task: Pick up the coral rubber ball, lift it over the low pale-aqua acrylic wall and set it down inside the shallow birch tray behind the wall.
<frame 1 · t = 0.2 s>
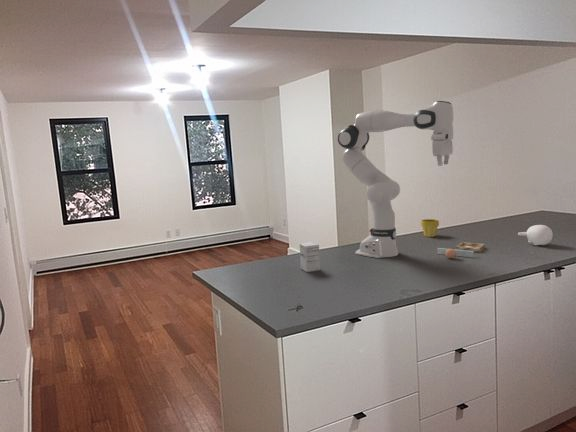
hand: (443, 164, 229), 47 cm above the worktop, fingers open, 8 cm apart
plant pot: (429, 236, 295), on the worktop
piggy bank: (536, 244, 261), on the worktop
aqua wall: (455, 255, 245), on the worktop
supplement box: (310, 269, 231), on the worktop
coral ball: (450, 253, 239), point 2 cm above the worktop
birch tray: (470, 249, 257), on the worktop
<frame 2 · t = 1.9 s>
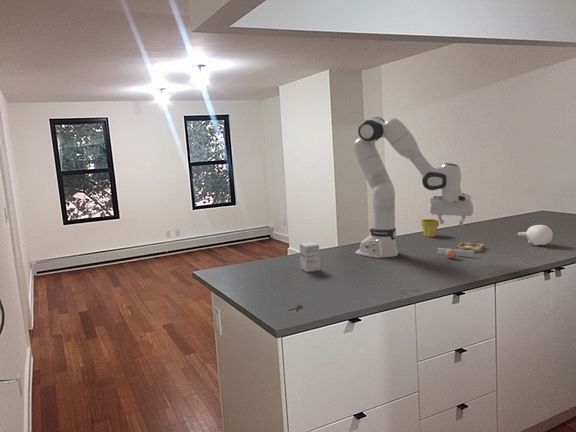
hand: (451, 224, 237), 18 cm above the worktop, fingers open, 8 cm apart
nothing on the worktop moved.
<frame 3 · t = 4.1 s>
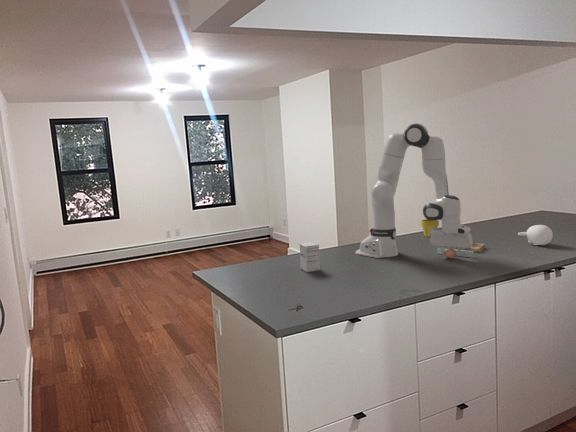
hand: (450, 255, 239), 2 cm above the worktop, fingers closed on coral ball, 5 cm apart
coral ball: (450, 253, 239), point 2 cm above the worktop, touching gripper
everything else where it was.
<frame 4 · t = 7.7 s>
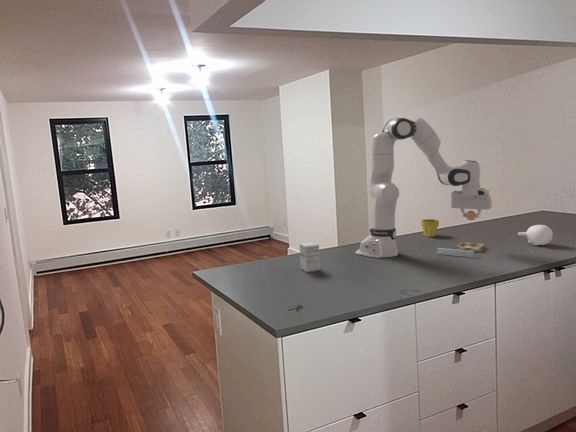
hand: (470, 217, 253), 18 cm above the worktop, fingers closed on coral ball, 5 cm apart
coral ball: (470, 215, 253), point 18 cm above the worktop, touching gripper
everything else where it was.
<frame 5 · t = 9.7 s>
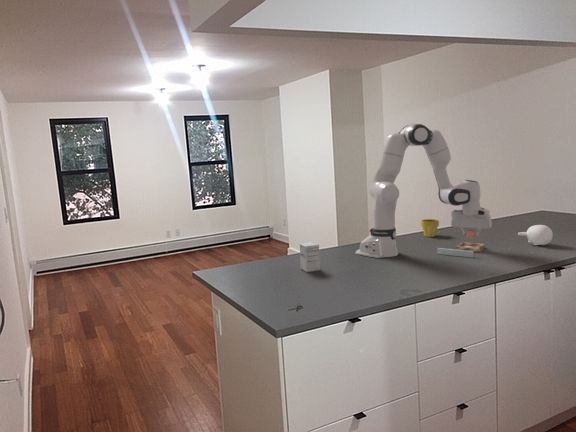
hand: (470, 236, 256), 7 cm above the worktop, fingers closed on coral ball, 5 cm apart
coral ball: (470, 234, 255), point 8 cm above the worktop, touching gripper
everything else where it was.
when the fingers open (4 cm above the worktop, at t = 11.3 s): coral ball drops 1 cm, resting on birch tray.
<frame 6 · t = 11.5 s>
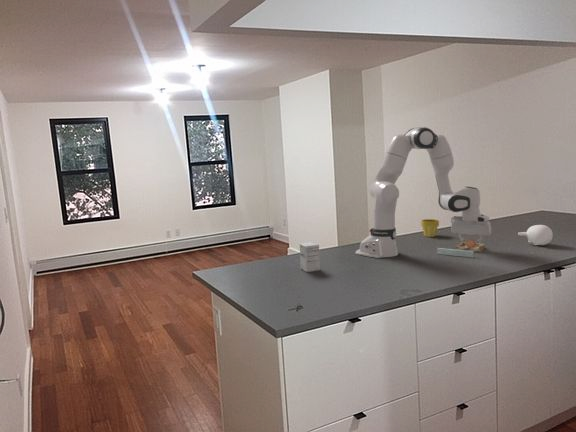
hand: (470, 242, 256), 4 cm above the worktop, fingers open, 7 cm apart
coral ball: (470, 243, 256), point 3 cm above the worktop, touching birch tray
everything else where it was.
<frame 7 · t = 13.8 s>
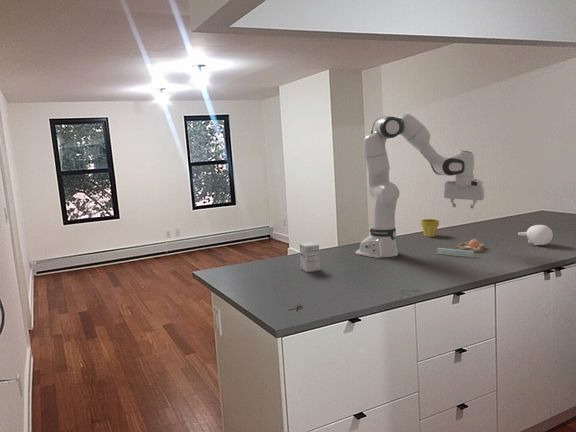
hand: (463, 207, 254), 23 cm above the worktop, fingers open, 8 cm apart
coral ball: (474, 243, 255), point 3 cm above the worktop, tilted 46°, touching birch tray
everything else where it was.
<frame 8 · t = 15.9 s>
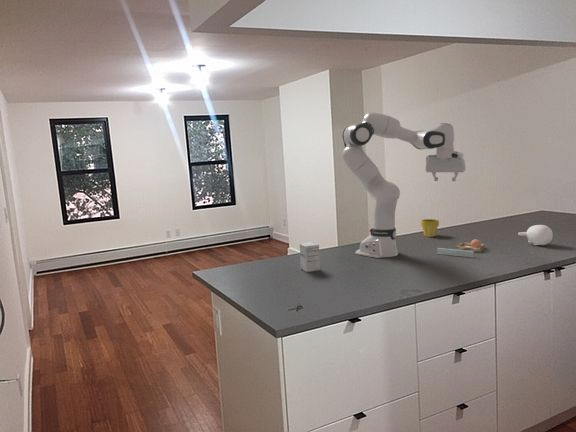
hand: (445, 180, 253), 37 cm above the worktop, fingers open, 8 cm apart
coral ball: (475, 244, 255), point 3 cm above the worktop, tilted 64°, touching birch tray
everything else where it was.
at the end: coral ball inside the target area on the birch tray (2.7 cm from its centre), point 3.1 cm above the birch tray's base; coral ball touching birch tray; the gripper is holding nothing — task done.
